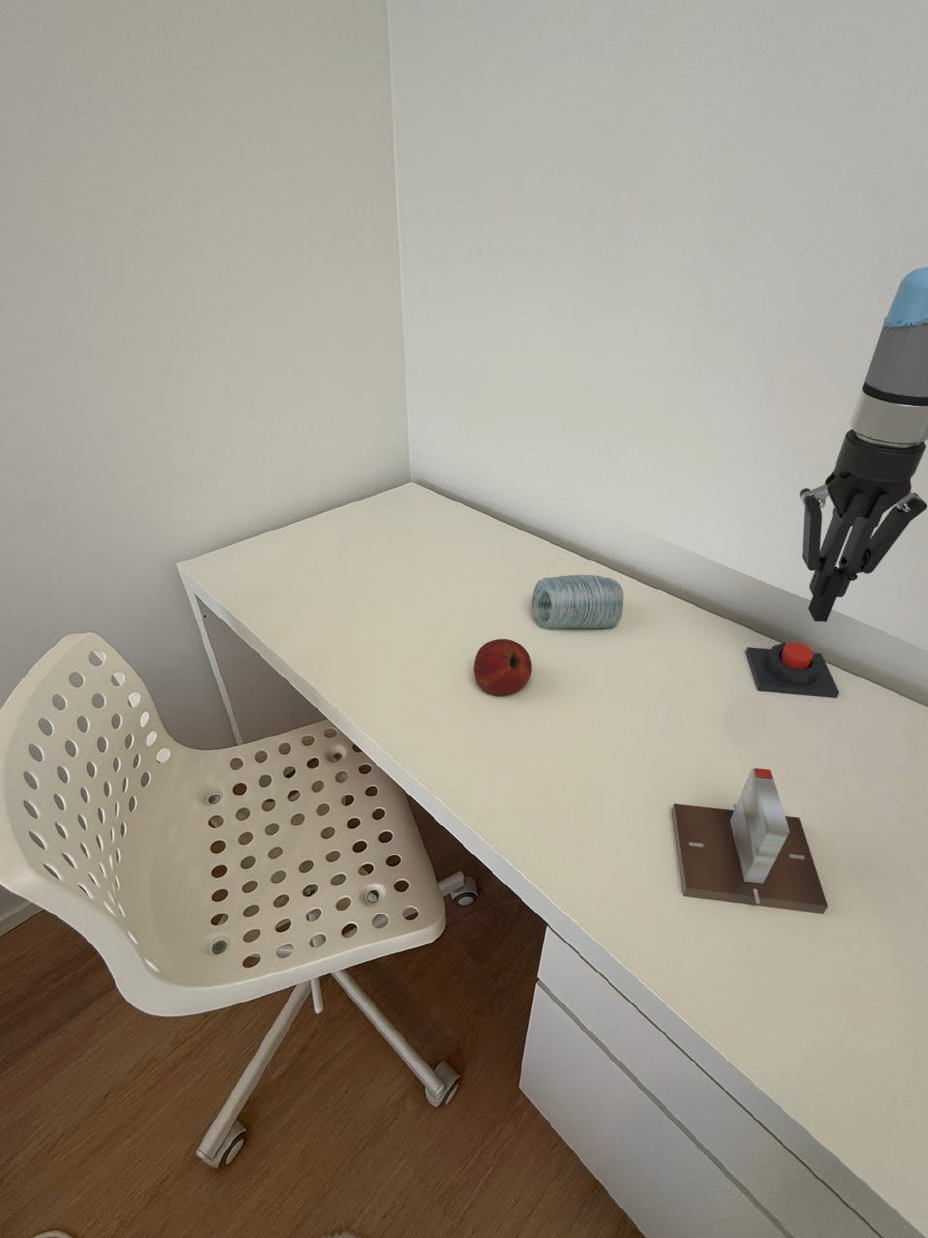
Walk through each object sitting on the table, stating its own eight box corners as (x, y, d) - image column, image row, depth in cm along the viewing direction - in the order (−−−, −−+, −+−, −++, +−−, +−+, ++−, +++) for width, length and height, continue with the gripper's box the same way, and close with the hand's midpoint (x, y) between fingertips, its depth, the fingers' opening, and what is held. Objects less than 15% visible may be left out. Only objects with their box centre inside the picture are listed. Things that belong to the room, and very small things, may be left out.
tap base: (790, 826, 71) (798, 811, 69) (821, 926, 62) (831, 912, 60) (668, 812, 72) (673, 797, 70) (681, 908, 63) (687, 893, 62)
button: (804, 653, 88) (809, 643, 87) (812, 671, 85) (816, 661, 84) (777, 651, 89) (781, 641, 88) (784, 668, 86) (788, 658, 85)
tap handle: (763, 884, 62) (791, 830, 57) (744, 882, 63) (769, 827, 57) (747, 822, 68) (771, 768, 63) (729, 820, 68) (752, 766, 63)
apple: (492, 716, 84) (494, 670, 79) (462, 681, 89) (462, 635, 84) (539, 695, 87) (543, 650, 82) (507, 663, 92) (509, 618, 87)
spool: (527, 629, 93) (547, 562, 91) (521, 617, 102) (539, 556, 100) (618, 654, 94) (639, 588, 92) (603, 640, 103) (622, 579, 101)
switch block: (816, 665, 92) (825, 643, 89) (833, 704, 85) (844, 682, 83) (743, 658, 93) (750, 637, 90) (755, 697, 87) (763, 675, 84)
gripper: (938, 424, 70) (861, 601, 84) (811, 420, 72) (757, 595, 86) (971, 451, 64) (883, 637, 78) (832, 446, 66) (770, 629, 80)
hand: (817, 615), depth 82 cm, fingers closed
